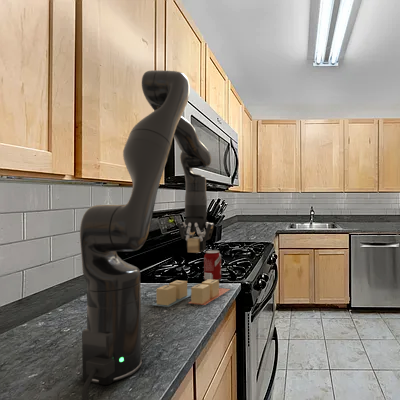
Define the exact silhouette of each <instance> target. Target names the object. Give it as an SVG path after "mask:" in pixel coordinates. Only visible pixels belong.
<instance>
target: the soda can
mask: <svg viewBox="0 0 400 400" xmlns="http://www.w3.org/2000/svg"><path fill="white" fill-rule="evenodd" d="M208 279H211V280H219V281H220V280H221V279H222V254H221V253H220V250H218V249H217V250H216V249H211V250H205V254H204V256H203V280H204V281H206V280H208Z"/></svg>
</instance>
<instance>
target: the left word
mask: <svg viewBox="0 0 400 400" xmlns="http://www.w3.org/2000/svg"><path fill="white" fill-rule="evenodd" d="M155 293H156V294H155V295H156V302H155V303H152V304H151V306H157V307H166V308H169V307H172V306H173V305H175V304H177V303H180V302H181V301H183V300H185V299H187V298H189V297H191V288H188V280H178V279H176V280H174V281H172V282H169V283H168V284H164V285H162V286H159V287H157V288H156V290H155Z"/></svg>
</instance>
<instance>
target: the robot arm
mask: <svg viewBox="0 0 400 400" xmlns="http://www.w3.org/2000/svg"><path fill="white" fill-rule="evenodd" d="M190 87H191V86H190V81H189V79H188V77H187V75H185V73H183V72H182V71H177V70H158V69H157V70H155V69H153V70H147V71H145V72H144V73H143V74H142V77H141V90H142V93H143V96H144V98H145V100H146V102H147V103H148V104H149V106H150V107H151V109H152V110H153V111H152V112H150V113H148V114H147V115H146V116H145V117H144V118H142V119H140V120H139V121H138V122H136V124H135V125H134V126H133V127H132V129H131V130H130V132H129V135H128V137H127V138H126V142H125V145H124V147H123V149H122V150H123V151H122V157H123V162H124V165H125V167H126V169H127V172H128V174H129V176H130V179H131V182H132V189H131V194H130V196H129V199H128V201H127V203H126V204H98V205H92V206H90V207H89V208H88V209H87V210H86V211H84V214H83V215H82V218H81V221H80V226H79V243H80V254H81V255H80V256H81V269H82V270H81V271H82V275H83V277H84V280H85V282H86V329H83V330H82V332H81V352H82V353H81V355H82V358H81V359H82V360H81V361H82V363H81V364H82V365H81V367H82V381H83V382H84V385H83V387H82V391H81V400H89V387H90V385H91V383H94V384H97V385H98V384H99V385H104V386H110V385H111V384H113V383H115V382H117V381H121V380H123V379H126V378H128V377H130V376H132V375H133V374H135V373H136V372H138V371H139V370H140V368H141V367H142V365H143V360H142V312H141V311H142V308H141V304H142V303H141V300H142V299H141V297H142V294H141V291H142V290H141V288H142V287H141V280H142V279H141V276H142V274H141V270H140V268H139V267H137V266H135V265H134V264H130V263H128V262H126V261H125V260H123V259H122V258H121V257H120V256H119V255H118V252H135V251H138V250H140V249H141V248H142V247H143V246H144V244H145V243H146V241H147V239H148V237H149V233H150V229H151V226H152V220H153V216H154V211H155V206H156V200H157V195H158V191H159V187H160V185H161V184H160V183H161V180H162V176H163V173H164V170H165V167H166V164H167V162H168V159H169V156H170V152H171V148H172V144H173V140H175V142H176V145H177V146H178V148H179V150H180V151H181V152H180V155H179V160H180V164H181V167H182V171H183V174H184V175H183V176H184V180H185V194H184V217H185V219H184V221H182V222H178V223H177V226H178V230H179V234H180V238H181V239H182V240H185V241H186V250H188V238H192V237H194V235H195V233H197V236H198V237H199V239H200V242H199V251H200V252H199V253H202V252H205V251H206V246H207V245H206V244H207V242H206V241H208V240H211V239H212V234H213V232H214V228H215V223H214V222H209V221H208V220H207V219H208V218H207V216H208V197H207V178H206V176H205V175H203V174H198V173H195V172H194V170H193V169H206V168H208V167H209V166H210V165H211V164H212V155H211V153H210V151H209V149H208V147H206V146H205V144H203V142H202V141H201V140H200V138H199V136H198V134H197V131H196V129H195V126H193V124H192V123H191V122H190V121H189V120H187V119H186V118H185V117H184V116H183V114H184V111H185V109H186V107H187V105H188V102H189V98H190V91H191V89H190ZM205 228H206V229H205Z"/></svg>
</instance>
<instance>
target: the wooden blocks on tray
mask: <svg viewBox="0 0 400 400" xmlns="http://www.w3.org/2000/svg"><path fill="white" fill-rule="evenodd" d="M190 289H191V296H190V299H191V300H190V301H189V302H188V304H192V305H201V306H206V305H208V304H209V303H210V302H212V301H214V300H215V299H217V298H219V297H220V296H222V295H224V294H226V292H229V291H230V290H231V288H223V287H222V288H221V287H220V280H211V279H208V280H206V281H205V280H204V281H202V282H201V283H198V284H195V285H194V286H192V287H190Z"/></svg>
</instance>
